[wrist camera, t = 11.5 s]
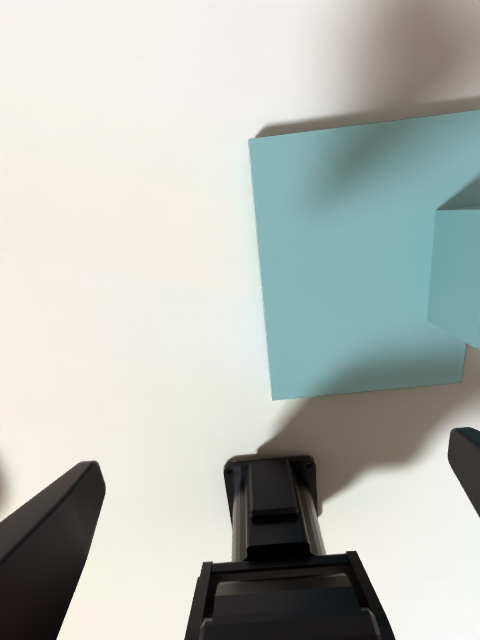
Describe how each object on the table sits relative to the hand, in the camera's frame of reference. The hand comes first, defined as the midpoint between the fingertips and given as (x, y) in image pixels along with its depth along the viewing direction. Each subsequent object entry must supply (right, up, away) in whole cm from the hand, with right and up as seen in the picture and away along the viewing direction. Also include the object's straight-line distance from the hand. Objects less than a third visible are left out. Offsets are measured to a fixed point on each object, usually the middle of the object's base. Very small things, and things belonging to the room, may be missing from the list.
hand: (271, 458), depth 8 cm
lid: (+6, +6, +11) cm, 14 cm away
